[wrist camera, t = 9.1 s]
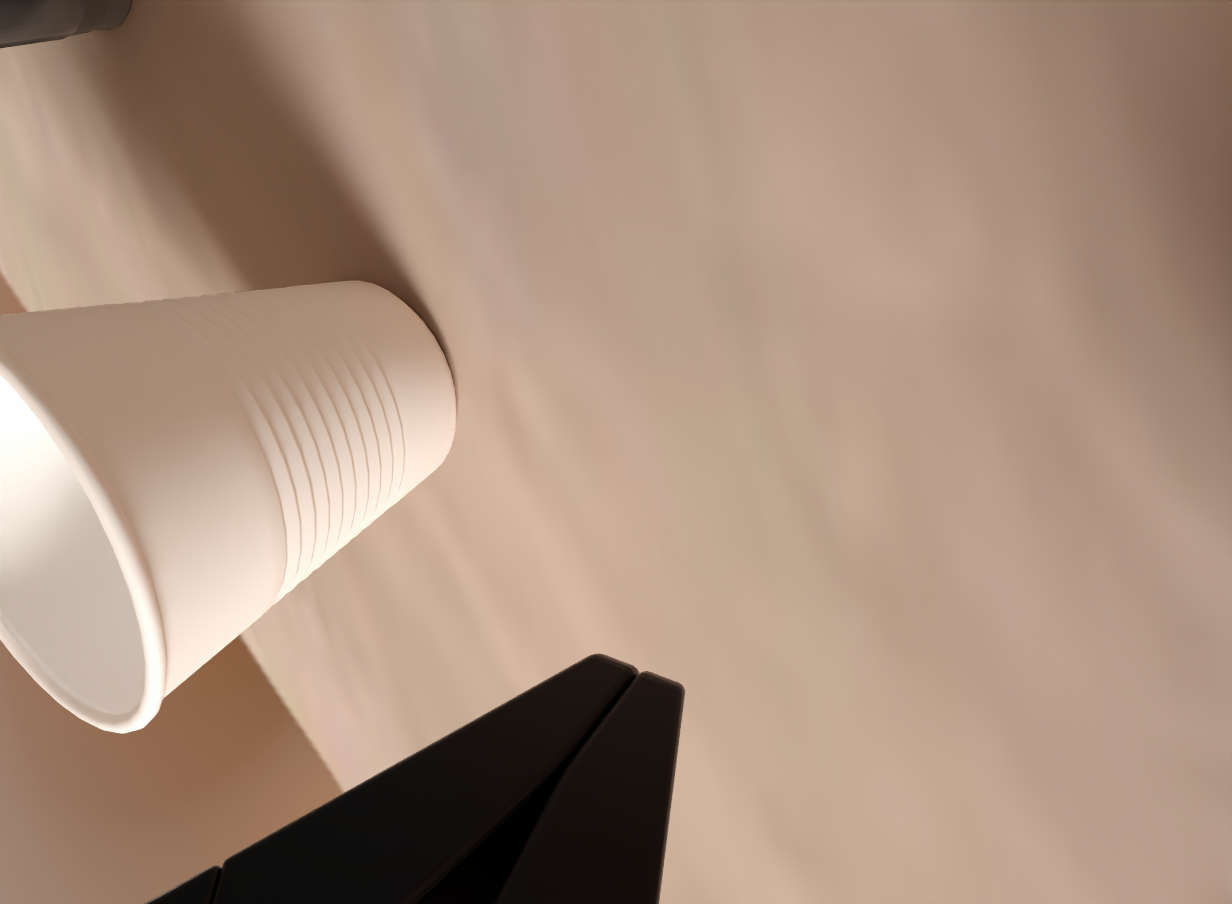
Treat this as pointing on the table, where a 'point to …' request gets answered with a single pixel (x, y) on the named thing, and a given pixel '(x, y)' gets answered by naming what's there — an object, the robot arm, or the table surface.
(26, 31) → the beverage cup
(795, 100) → the table surface
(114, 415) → the cup
